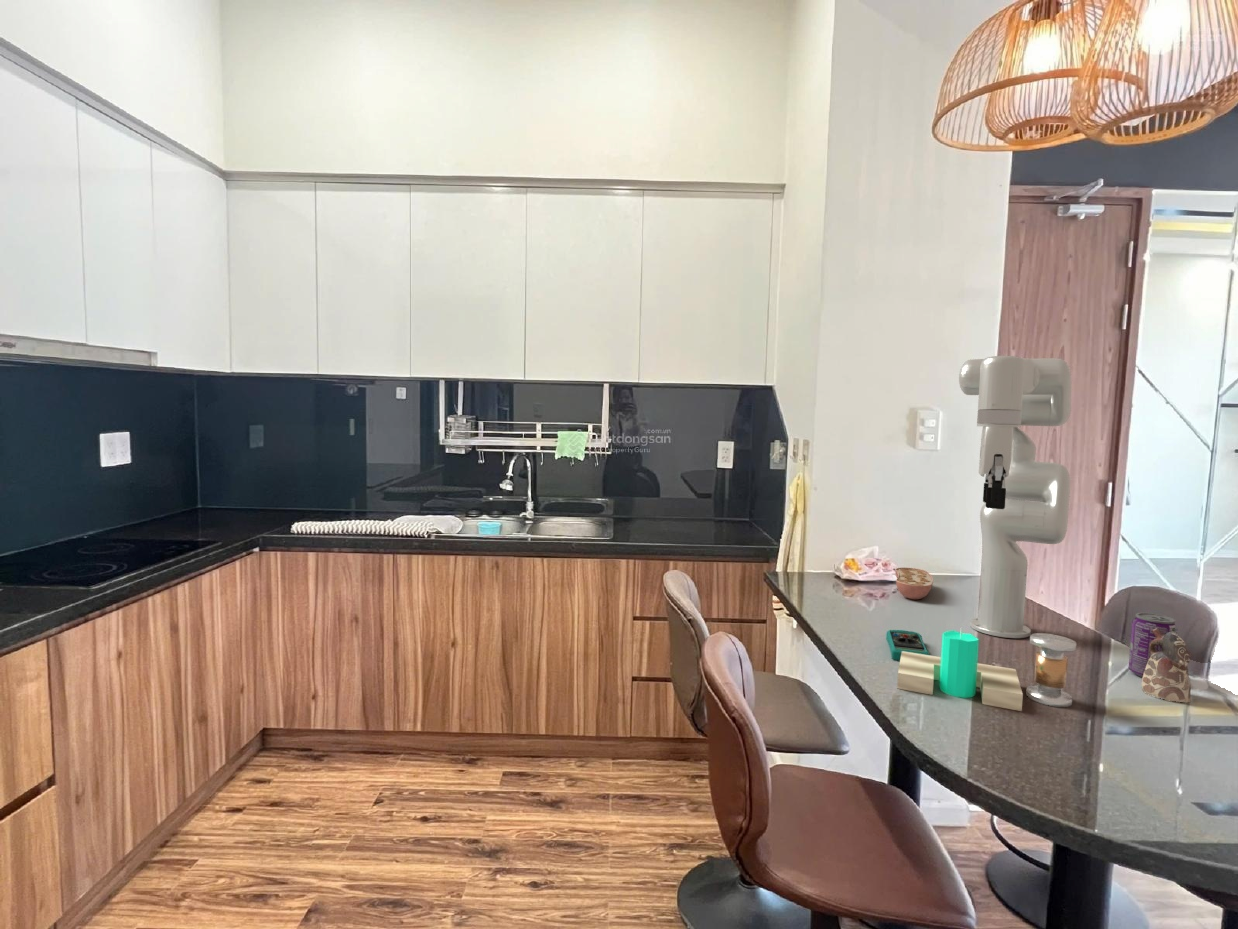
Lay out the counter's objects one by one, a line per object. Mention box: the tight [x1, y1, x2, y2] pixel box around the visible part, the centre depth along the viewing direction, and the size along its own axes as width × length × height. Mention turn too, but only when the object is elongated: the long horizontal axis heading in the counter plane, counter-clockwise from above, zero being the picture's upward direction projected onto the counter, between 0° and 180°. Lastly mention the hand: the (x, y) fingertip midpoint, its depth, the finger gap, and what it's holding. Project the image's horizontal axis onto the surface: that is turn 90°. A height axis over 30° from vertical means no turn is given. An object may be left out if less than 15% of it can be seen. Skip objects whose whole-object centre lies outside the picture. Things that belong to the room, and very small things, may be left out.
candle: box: [939, 627, 980, 699], centre depth 123 cm, size 6×6×12 cm
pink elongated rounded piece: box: [894, 567, 934, 601], centre depth 193 cm, size 23×10×5 cm, turn 158°
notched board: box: [896, 651, 1024, 712], centre depth 125 cm, size 13×20×3 cm, turn 64°
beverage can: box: [1127, 612, 1179, 679], centre depth 132 cm, size 7×7×12 cm
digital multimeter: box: [885, 629, 931, 662], centre depth 144 cm, size 7×15×3 cm, turn 163°
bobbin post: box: [1025, 632, 1077, 708], centre depth 120 cm, size 7×7×11 cm
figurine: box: [1141, 628, 1192, 703], centre depth 123 cm, size 7×7×12 cm
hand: (993, 505), depth 133 cm, fingers open, 9 cm apart
